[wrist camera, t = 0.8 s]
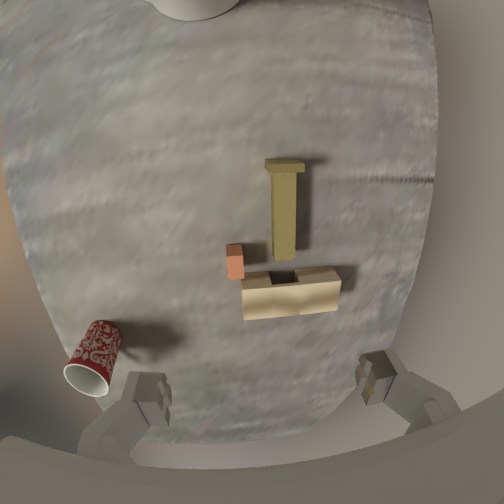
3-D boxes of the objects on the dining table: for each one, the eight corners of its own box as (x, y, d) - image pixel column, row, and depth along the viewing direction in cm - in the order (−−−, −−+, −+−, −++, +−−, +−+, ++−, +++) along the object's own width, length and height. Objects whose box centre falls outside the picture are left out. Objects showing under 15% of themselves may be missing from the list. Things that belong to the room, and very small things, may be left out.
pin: (264, 159, 42) (269, 164, 38) (296, 158, 42) (304, 163, 38) (266, 252, 49) (270, 266, 44) (295, 250, 49) (302, 264, 45)
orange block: (226, 245, 47) (226, 256, 44) (241, 243, 47) (242, 255, 44) (228, 267, 49) (228, 279, 45) (242, 266, 49) (244, 278, 45)
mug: (81, 313, 51) (56, 360, 39) (122, 319, 52) (102, 369, 40) (94, 356, 57) (76, 402, 44) (130, 362, 58) (117, 411, 46)
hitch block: (240, 273, 50) (241, 289, 45) (331, 265, 51) (341, 280, 46) (242, 302, 52) (244, 320, 48) (328, 294, 53) (337, 310, 49)
